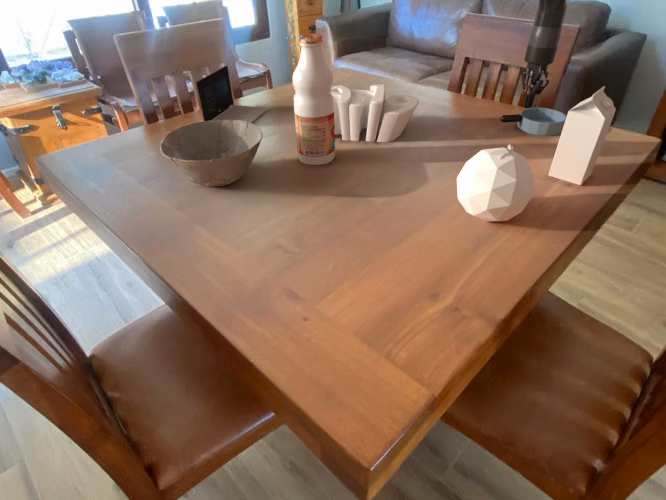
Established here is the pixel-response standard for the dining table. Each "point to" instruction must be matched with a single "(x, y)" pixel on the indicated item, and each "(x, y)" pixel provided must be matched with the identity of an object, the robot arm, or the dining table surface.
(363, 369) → the dining table surface
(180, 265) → the dining table surface
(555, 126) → the pan
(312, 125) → the fruit juice
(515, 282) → the dining table surface
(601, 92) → the milk carton
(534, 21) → the robot arm
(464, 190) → the geodesic sphere
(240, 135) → the ceramic bowl
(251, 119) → the laptop
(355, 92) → the wavy white extrusion
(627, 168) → the dining table surface
